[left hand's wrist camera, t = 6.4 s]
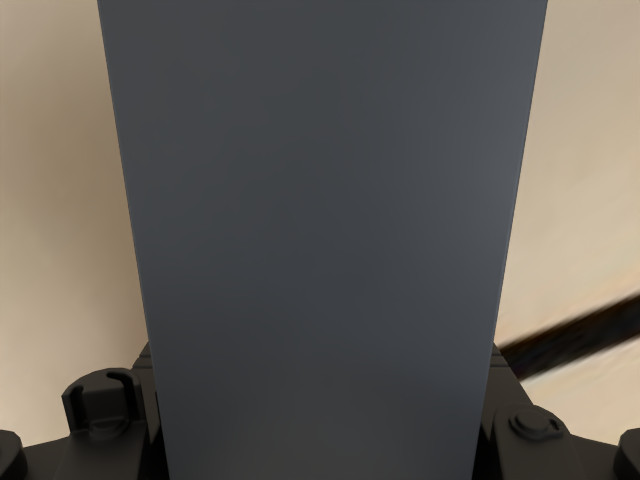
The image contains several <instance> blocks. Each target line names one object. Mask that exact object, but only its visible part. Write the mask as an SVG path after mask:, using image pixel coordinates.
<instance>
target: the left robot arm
mask: <svg viewBox="0 0 640 480" xmlns="http://www.w3.org/2000/svg"><path fill="white" fill-rule="evenodd" d="M61 397H62V401H63V405H64V409H65V413H66V417H67V421H68V425H69V429H70V435H69V436H68V437H65V438H61V439H58V440H54V441H50V442H46V443H41V444H37V445H33V446H29V447H24V448H23V446H22V442H21V439H20V437H19V436H18V435H16V434H15V433H14V432H12V431H6V430H0V480H170V477H169V471H168V464H167V458H166V451H165V444H164V438H163V431H162V425H161V418H160V411H159V405H158V398H157V392H156V385H155V378H154V372H153V365H152V359H151V352H150V346H149V342H148V343H147V344H146V346H145V347H144V349H143V350H142V352H141V354H140V355H139V358H137V360H136V362H135V363H134V365H133V368H132V369H130V370H129V369H125V368H107V369H103V370H98V371H94V372H92V373H90V374H87V375H85V376H83V377H81V378H79V379H78V380H76V381H75V382H74V383H72V384H71V385H70V386H68V388H67V389H66V390H65V392H64V393H63V394H62V396H61ZM471 480H640V428H636V429H630V430H627V431H626V432H625V433H624V434H622V435H621V437H620V440H619V444H618V446H615V445H611V444H607V443H603V442H598V441H594V440H590V439H585V438H582V437H579V436H575V435H572V434H570V432H569V431H568V429H567V427H566V426H565V424H564V423H563V422H562V421H561V420H560V419H559V418H558V417H556V416H555V415H554V414H553V413H551V412H549V411H547V410H545V409H543V408H541V407H539V406H536V405H533V403H532V402H531V400H530V398H529V397H528V395H527V394H526V392H525V391H524V389H523V387H522V386H521V384H520V383H519V381H518V380H517V378H516V376H515V375H514V373H513V372H512V370H511V369H510V367H508V364H507V362H506V361H505V359H504V358H503V356H501V353H500V351H499V350H498V348H497V347H496V345H495V343H494V342H493V347H492V354H491V360H490V366H489V372H488V379H487V385H486V391H485V397H484V404H483V410H482V416H481V423H480V429H479V435H478V441H477V448H476V454H475V460H474V467H473V473H472V479H471Z"/></svg>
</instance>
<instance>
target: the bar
mask: <svg viewBox="0 0 640 480" xmlns="http://www.w3.org/2000/svg"><path fill="white" fill-rule="evenodd" d="M547 2H548V0H97V3H98V9H99V16H100V23H101V29H102V36H103V42H104V49H105V56H106V62H107V69H108V75H109V82H110V89H111V95H112V102H113V108H114V115H115V121H116V128H117V135H118V141H119V148H120V154H121V161H122V168H123V174H124V181H125V187H126V194H127V201H128V207H129V214H130V220H131V227H132V233H133V240H134V247H135V253H136V260H137V266H138V273H139V280H140V286H141V293H142V299H143V306H144V313H145V319H146V326H147V332H148V339H149V346H150V352H151V359H152V365H153V372H154V378H155V385H156V392H157V398H158V405H159V411H160V418H161V425H162V431H163V438H164V444H165V451H166V458H167V464H168V471H169V477H170V480H471V479H472V473H473V467H474V460H475V454H476V448H477V441H478V435H479V429H480V423H481V416H482V410H483V404H484V397H485V391H486V385H487V379H488V372H489V366H490V360H491V354H492V347H493V341H494V335H495V328H496V322H497V316H498V310H499V303H500V297H501V291H502V285H503V278H504V272H505V266H506V259H507V253H508V247H509V241H510V234H511V228H512V222H513V216H514V209H515V203H516V197H517V190H518V184H519V178H520V172H521V165H522V159H523V153H524V147H525V140H526V134H527V128H528V121H529V115H530V109H531V103H532V96H533V90H534V84H535V78H536V71H537V65H538V59H539V52H540V46H541V40H542V34H543V27H544V21H545V15H546V9H547Z"/></svg>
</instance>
